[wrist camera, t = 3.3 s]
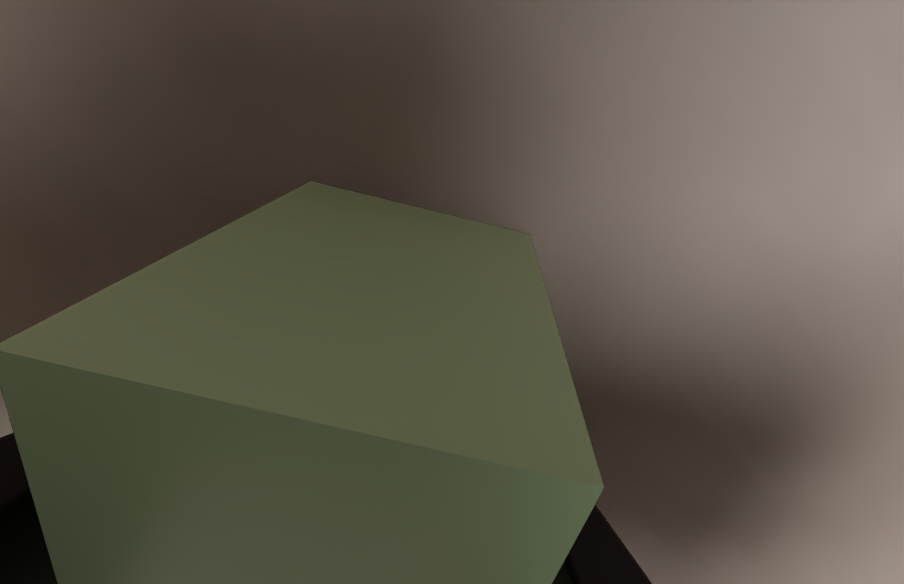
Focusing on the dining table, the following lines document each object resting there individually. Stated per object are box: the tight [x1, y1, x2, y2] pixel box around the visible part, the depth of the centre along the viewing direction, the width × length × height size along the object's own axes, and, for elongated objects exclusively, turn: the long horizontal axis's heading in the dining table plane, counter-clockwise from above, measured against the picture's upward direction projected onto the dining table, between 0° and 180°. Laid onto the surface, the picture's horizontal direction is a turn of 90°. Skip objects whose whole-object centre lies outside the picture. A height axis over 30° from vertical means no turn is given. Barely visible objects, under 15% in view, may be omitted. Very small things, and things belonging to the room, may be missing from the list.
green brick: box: [0, 181, 604, 584], centre depth 6 cm, size 7×4×5 cm, turn 167°
